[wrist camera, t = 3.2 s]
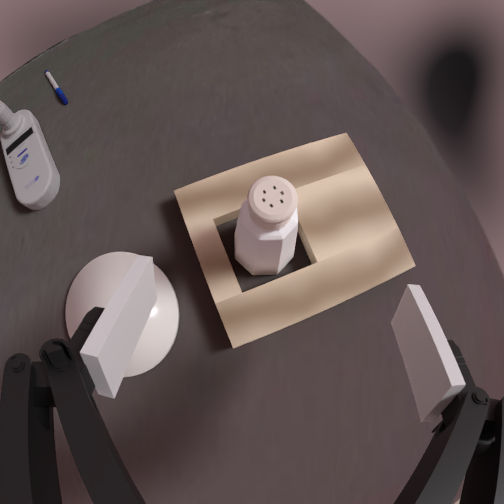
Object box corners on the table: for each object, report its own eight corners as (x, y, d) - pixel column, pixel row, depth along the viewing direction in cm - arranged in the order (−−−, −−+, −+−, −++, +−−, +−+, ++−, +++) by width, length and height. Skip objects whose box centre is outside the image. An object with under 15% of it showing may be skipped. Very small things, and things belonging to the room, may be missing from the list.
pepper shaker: (278, 207, 29) (294, 141, 18) (305, 262, 28) (339, 221, 17) (222, 231, 28) (207, 174, 18) (247, 287, 27) (247, 261, 16)
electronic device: (-22, 189, 19) (-33, 99, 22) (33, 221, 29) (7, 137, 31) (19, 149, 20) (0, 69, 22) (68, 191, 30) (36, 112, 32)
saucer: (58, 278, 27) (53, 276, 26) (156, 235, 28) (153, 233, 27) (91, 388, 25) (87, 390, 24) (198, 353, 26) (197, 354, 25)
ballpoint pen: (71, 102, 32) (67, 97, 31) (65, 106, 32) (62, 102, 31) (48, 71, 34) (45, 67, 33) (43, 75, 34) (40, 71, 33)
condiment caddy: (178, 199, 29) (174, 190, 27) (341, 143, 31) (346, 132, 29) (234, 346, 26) (233, 348, 24) (405, 269, 28) (415, 265, 26)
